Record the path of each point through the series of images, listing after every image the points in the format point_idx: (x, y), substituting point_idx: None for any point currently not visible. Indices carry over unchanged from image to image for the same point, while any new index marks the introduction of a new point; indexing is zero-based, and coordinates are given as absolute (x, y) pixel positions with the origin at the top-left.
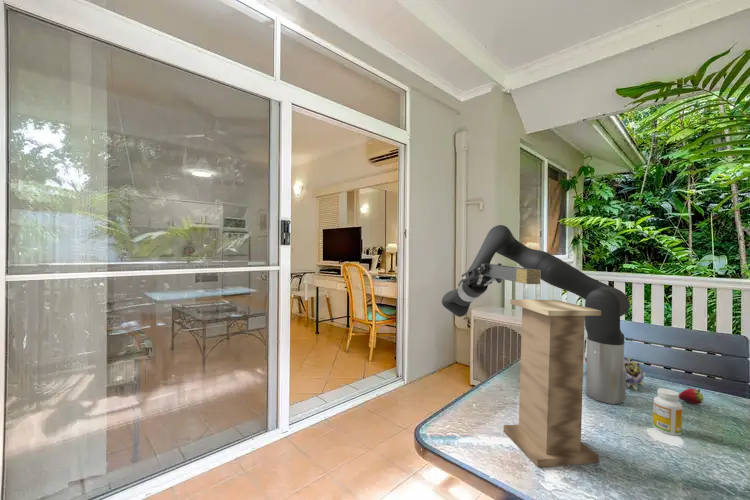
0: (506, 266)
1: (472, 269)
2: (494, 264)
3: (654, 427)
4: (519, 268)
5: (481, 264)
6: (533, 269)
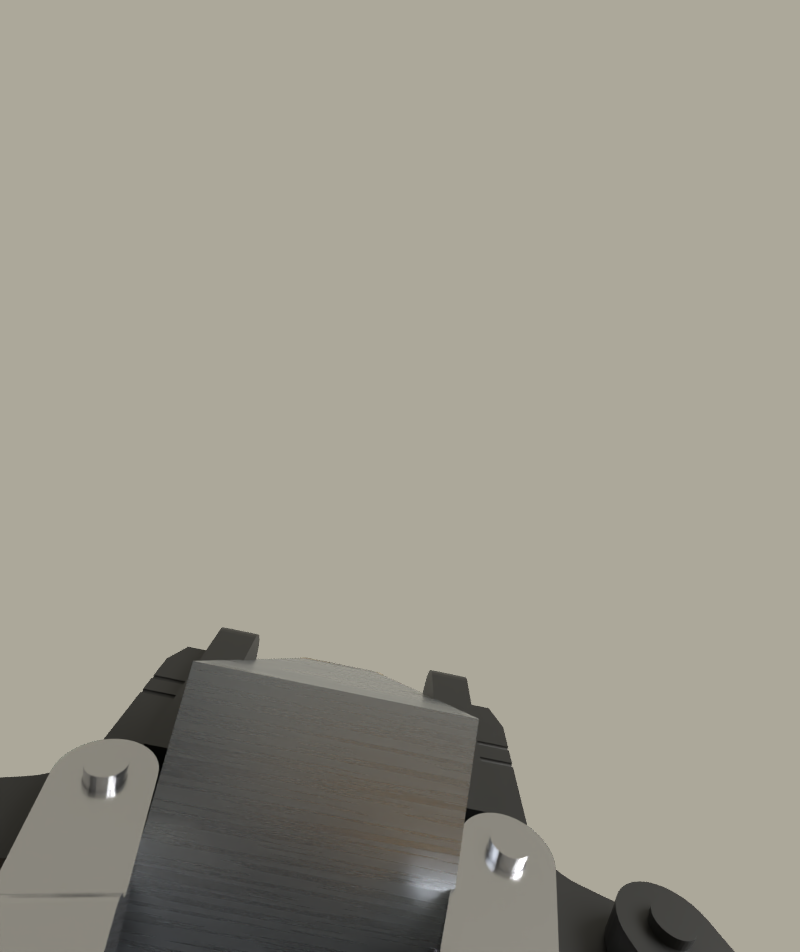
0: (340, 669)
1: (703, 931)
2: (237, 662)
3: None
4: (363, 670)
5: (474, 734)
6: (322, 661)
